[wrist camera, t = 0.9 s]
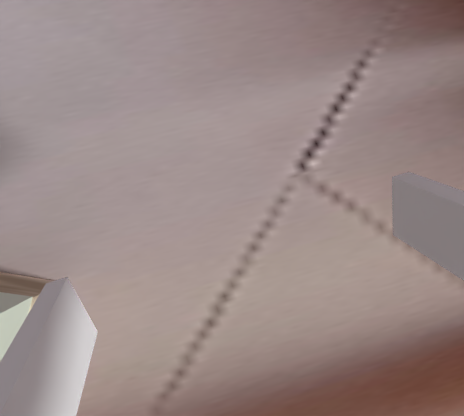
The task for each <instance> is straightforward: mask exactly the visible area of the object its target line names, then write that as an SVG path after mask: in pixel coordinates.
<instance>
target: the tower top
mask: <svg viewBox="0 0 464 416" xmlns="http://www.w3.org/2000/svg"><path fill="white" fill-rule="evenodd" d="M31 301H32V296H25V295H18V294H10V293H3V292H0V362H1V360H2V358H3V357H4V355H5V353H6V351H7V350H8V348H9V346H10V344H11V343H12V341H13V339H14V338H15V336H16V334H17V332H18V331H19V329H20V327H21V326H22V324H23V322H24V320H25V319H26V317H27V315H28V313H29V309H30V305H31Z"/></svg>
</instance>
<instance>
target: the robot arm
mask: <svg viewBox="0 0 464 416" xmlns="http://www.w3.org/2000/svg"><path fill="white" fill-rule="evenodd" d="M392 210H393V235H394V236H396V237H397V238H399V239H400V240H402V241H403V242H405V243H407V244H408V245H410V246H411V247H413V248H414V249H416V250H417V251H419V252H420V253H422V254H424V255H425V256H427V257H428V258H430V259H431V260H433V261H434V262H436V263H437V264H439V265H440V266H442V267H444V268H445V269H447V270H448V271H450V272H451V273H453V274H454V275H456V276H457V277H459V278H461V279H462V280H464V191H462V190H459V189H456V188H453V187H451V186H448V185H445V184H442V183H439V182H436V181H433V180H431V179H428V178H425V177H422V176H419V175H416V174H414V173H411V172H407V173H403V174H400V175H397V176H394V177H392ZM97 333H98V331H97V330H96V328H95V326H94V324H93V322H92V321H91V319H90V317H89V315H88V313H87V311H86V310H85V308H84V306H83V304H82V302H81V301H80V299H79V297H78V295H77V293H76V291H75V290H74V288H73V286H72V284H71V282H70V281H69V279H68V277H65V278H62V279H59V280H55V281H52V282H49V283H46V284H45V286H44V288H43V289H42V291H41V293H40V295H39V296H38V298H37V300H36V301H35V303H34V305H33V307H32V308H31V310H30V312H29V314H28V315H27V317H26V319H25V320H24V322H23V324H22V326H21V327H20V329H19V331H18V332H17V334H16V336H15V338H14V339H13V341H12V343H11V344H10V346H9V348H8V350H7V351H6V353H5V355H4V357H3V358H2V360H1V362H0V416H76V414H77V410H78V406H79V402H80V398H81V394H82V391H83V387H84V383H85V379H86V375H87V371H88V367H89V364H90V360H91V356H92V352H93V348H94V344H95V340H96V336H97Z"/></svg>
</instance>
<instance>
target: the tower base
mask: <svg viewBox="0 0 464 416" xmlns="http://www.w3.org/2000/svg"><path fill="white" fill-rule="evenodd" d="M52 281H53V280H47V279H41V278H35V277H28V276H22V275H16V274H10V273H3V272H0V292H3V293H10V294H18V295H25V296H32V301H31V305H30V309H29V312H30V310H31V308H32V307H33V305H34V303H35V301H36V300H37V298H38V296H39V295H40V293H41V291H42V289H43V288H44V286H45V284H46V283H49V282H52ZM28 314H29V313H28Z"/></svg>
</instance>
